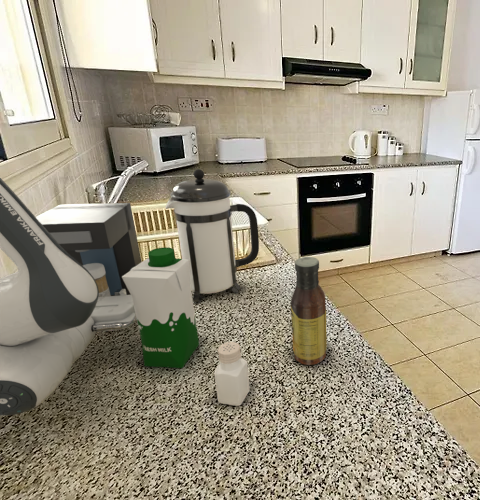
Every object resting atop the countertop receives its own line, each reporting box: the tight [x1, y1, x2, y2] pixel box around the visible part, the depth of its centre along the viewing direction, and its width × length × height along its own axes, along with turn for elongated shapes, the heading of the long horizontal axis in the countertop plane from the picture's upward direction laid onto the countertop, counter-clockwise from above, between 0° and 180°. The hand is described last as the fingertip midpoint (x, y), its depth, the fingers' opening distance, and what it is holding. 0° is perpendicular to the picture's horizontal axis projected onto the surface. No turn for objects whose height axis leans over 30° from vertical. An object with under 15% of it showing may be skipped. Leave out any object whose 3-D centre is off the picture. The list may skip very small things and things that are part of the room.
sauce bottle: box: [290, 256, 328, 366], centre depth 66 cm, size 6×6×20 cm
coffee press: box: [164, 168, 260, 304], centre depth 89 cm, size 17×16×30 cm
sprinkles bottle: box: [83, 263, 111, 297], centre depth 76 cm, size 5×5×13 cm
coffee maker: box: [35, 202, 143, 296], centre depth 75 cm, size 13×14×24 cm
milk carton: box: [122, 246, 200, 369], centre depth 66 cm, size 9×9×20 cm
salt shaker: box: [213, 341, 251, 407], centre depth 58 cm, size 4×4×10 cm
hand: (96, 293), depth 75 cm, fingers open, 8 cm apart
